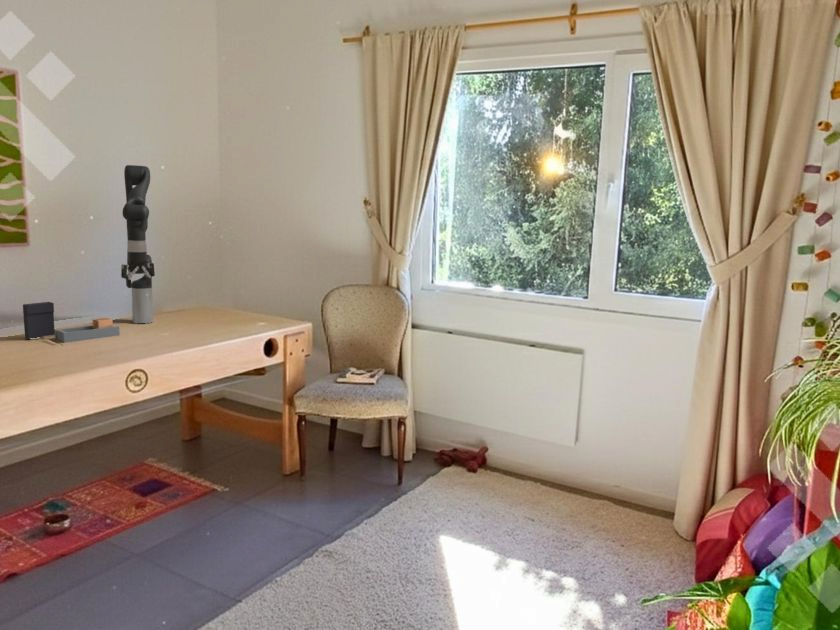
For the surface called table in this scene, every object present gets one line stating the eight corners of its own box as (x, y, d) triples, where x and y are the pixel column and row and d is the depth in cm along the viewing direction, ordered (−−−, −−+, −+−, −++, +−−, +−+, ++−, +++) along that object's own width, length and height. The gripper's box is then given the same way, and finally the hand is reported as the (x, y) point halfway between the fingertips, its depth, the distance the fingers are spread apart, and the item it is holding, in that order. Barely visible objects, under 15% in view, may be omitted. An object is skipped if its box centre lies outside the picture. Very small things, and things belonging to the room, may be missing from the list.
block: (93, 334, 286) (92, 319, 285) (106, 333, 291) (106, 317, 289) (99, 337, 282) (98, 321, 281) (113, 335, 287) (112, 319, 286)
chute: (51, 340, 276) (50, 329, 275) (112, 332, 296) (112, 322, 295) (63, 345, 268) (62, 334, 268) (125, 337, 288) (125, 326, 287)
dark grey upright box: (50, 335, 287) (48, 301, 284) (55, 336, 284) (53, 302, 282) (24, 339, 278) (21, 304, 275) (28, 340, 275) (26, 305, 273)
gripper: (148, 249, 296) (149, 284, 299) (117, 250, 285) (118, 287, 288) (157, 250, 291) (158, 286, 294) (126, 252, 280) (127, 289, 283)
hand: (138, 287), depth 291 cm, fingers open, 8 cm apart
